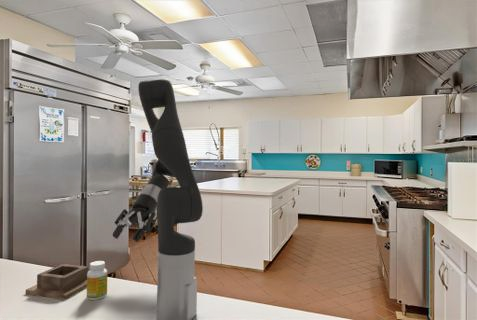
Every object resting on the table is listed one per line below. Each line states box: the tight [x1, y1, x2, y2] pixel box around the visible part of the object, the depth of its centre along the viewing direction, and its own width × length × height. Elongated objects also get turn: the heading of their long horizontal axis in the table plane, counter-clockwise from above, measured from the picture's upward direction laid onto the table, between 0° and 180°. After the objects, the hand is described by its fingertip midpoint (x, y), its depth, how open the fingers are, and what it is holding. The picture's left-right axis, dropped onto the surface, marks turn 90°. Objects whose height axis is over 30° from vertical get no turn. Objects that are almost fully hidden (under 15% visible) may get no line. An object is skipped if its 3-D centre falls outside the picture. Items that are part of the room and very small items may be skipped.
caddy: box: [25, 263, 89, 300], centre depth 91 cm, size 14×13×5 cm
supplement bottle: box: [86, 260, 108, 301], centre depth 85 cm, size 5×5×10 cm
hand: (124, 238), depth 95 cm, fingers open, 8 cm apart
